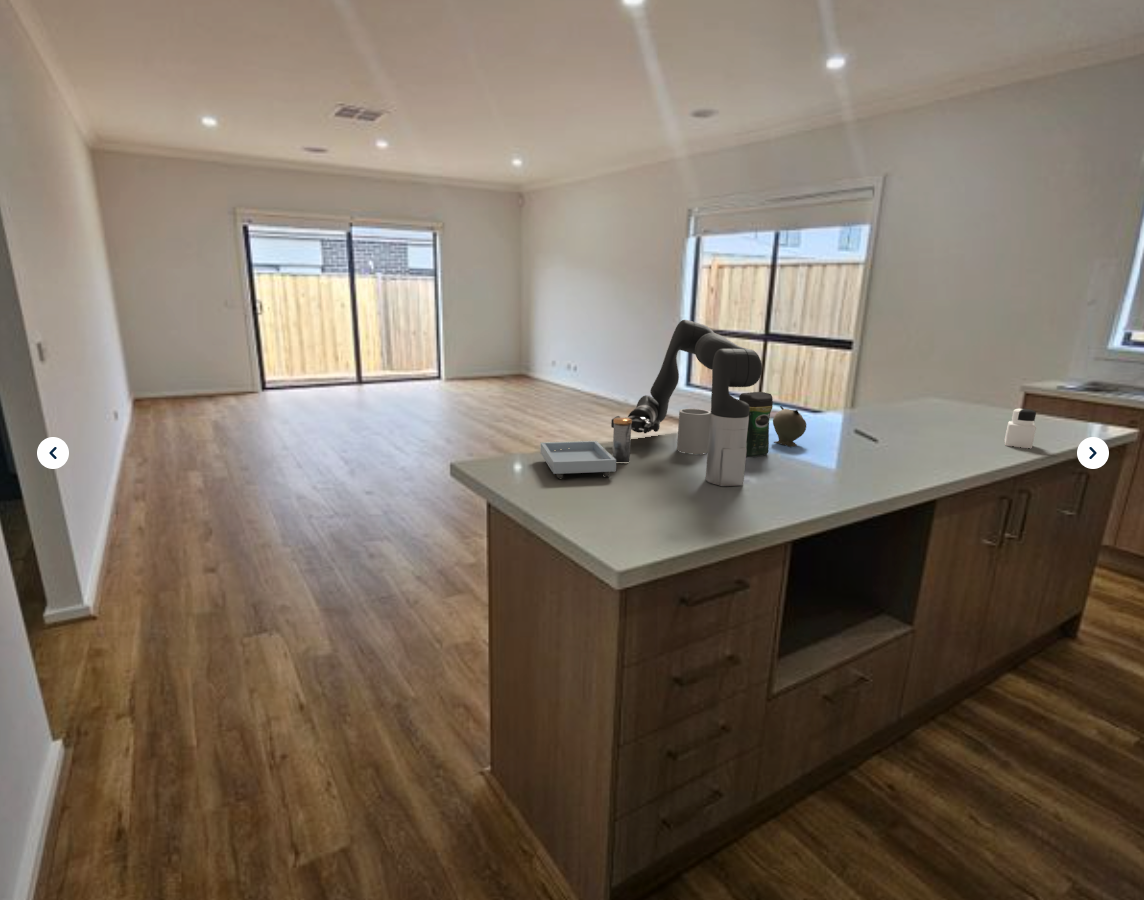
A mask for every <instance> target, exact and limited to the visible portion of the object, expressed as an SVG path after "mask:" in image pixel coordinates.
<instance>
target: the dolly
mask: <svg viewBox="0 0 1144 900" xmlns="http://www.w3.org/2000/svg"><path fill="white" fill-rule="evenodd" d="M568 448H570V449H568ZM539 449H540V455H541V456H542V459H544V461H545V462H546V464H547V466H548V467H549V469H550V470H551V473H552V474H553V475H555V474H556V478H557V477H558V478H563V479H564V474H581V473H582V474H583V473H602V476H603V475H604V476H609V477H610V472H616V471H617V463H616V459H615V458H614V457H613V454H611V453H610V452H609V451H607V449H606V448H605V447H603V446H602V444H600V442H598V441H597V440H585V441H583V440H582V441H581V440H580V441H553V442H552V441H550V442H549V441H548V442H547V441H546V442H540V448H539ZM560 449H562V450H560ZM554 450H556V451H554Z"/></svg>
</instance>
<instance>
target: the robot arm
mask: <svg viewBox="0 0 1144 900" xmlns="http://www.w3.org/2000/svg"><path fill="white" fill-rule="evenodd" d="M679 351H682V352H686V353H689V354H691V355H692V354H693V355H695V357H696V360H698V361H699V363H700V364H701V365H703V366H704V367H705V368H707V369H709V370H712V371H711V395H710V396H711V397H710V402H711V406H710V407H711V408H710V412H711V416H710V428H709V440H708V452H707V453H706V468H705V481H706V482H708V483H710V484H714V485H718V486H720V487H734V486H744V481H745V480H744V479H745V469H746V461H747V460H746V459H747V456H746V452H747V449H746V441H747V431H748V421H749V411H750V407H749V404H747V403H746V402H743V401H741V400H739V398H736V397H733V396H732V395H731V394H730V391H729V389H730V388H749V387H752V386H755V385H756V384H757V383H758V382H759V380H760V379H761V376H762V373H763V364H762V360H761V358H760V355H759V354H758V352H756V351H755V350H754V349H749V348H745V347H742V346H740V345H738V344H736V343H735V342H733V341H731V340H729V339H728V338H726V337H725V336H723V335H721V334H718V333H715V332H714V331H713V329H712V328H711V327H709V326H708V325H705V324H702V323H700V322H695V321H692V320H688V319H682V320H680V321H679V322H678V324H677V325H676V326H675V329H674V331H673V333H672V336H671V339H670V341H669V344H668V347H667V350H666V353H665V356H664V359H663V361H662V362H663V363H662V365H661V367H660V369H659V372H658V374H657V376H656V378H655V379H654V382H653V383H652V386H651V388H650V391H649V392H650V395H651V396H650V395H646V394H645V395H643V396H641V397H640V398H639V400H638V402H637V403H636V407H635V408H634V409H633V410H631V411H630V413H629V414H628V416H627V417H625V416H624V418H629V419H632V424H631V431H633V432H635V433H639V434H640V433H643V434H647V433H651V432H652V431H653V432H655V433H656V432H658V431H659V430H660V428H661V427H660V426H661V422H663V421H664V420H665V419H666V417H667V413H668V408H669V402H670V401H671V397H672V396H673V393H674V392H675V390H676V387H677V385H678V384H679V380H680V379H679V378H680V374H679V368H678V363H677V361H678V360H677V356H678V353H679ZM614 418H621V416H620V415H617V416H614V417H613V418H612V419H611V422H610V423H611V425H610V426H611V428H612V429H614Z"/></svg>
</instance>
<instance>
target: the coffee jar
mask: <svg viewBox="0 0 1144 900" xmlns="http://www.w3.org/2000/svg"><path fill="white" fill-rule="evenodd" d="M773 399H774V398H773V396H772V393H768V392H764V391H752V392H742V393H741V394H739V397H738V400H741V401H743V402H746V403H747V404H749V407H750V411H749V421H748V431H747V441H746V449H747V452H746V457H747V458H748V457H750V458H752V457H753V458H755V457H762V456H766V455H768V454H769V450H770V447H769V446H770V416H771V412H772V410H773V407H774V406H773V403H774V402H773Z"/></svg>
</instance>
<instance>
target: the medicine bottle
mask: <svg viewBox="0 0 1144 900" xmlns="http://www.w3.org/2000/svg"><path fill="white" fill-rule="evenodd" d="M1036 415H1037V412H1036V411H1035V410H1033V409H1029V408H1023V407H1022V408H1015V409H1014V410H1012V416H1011V420H1009V421H1008V422H1007V427H1006V431H1005V436H1004V445H1005V446H1006V447H1012V446H1014V447H1013V448H1020V447H1021V448H1020V449H1028V448H1030V449H1029V450H1031V449H1032V448H1033V444H1034V439H1035V435H1036V431H1037V426H1036V425H1035V420H1036Z"/></svg>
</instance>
